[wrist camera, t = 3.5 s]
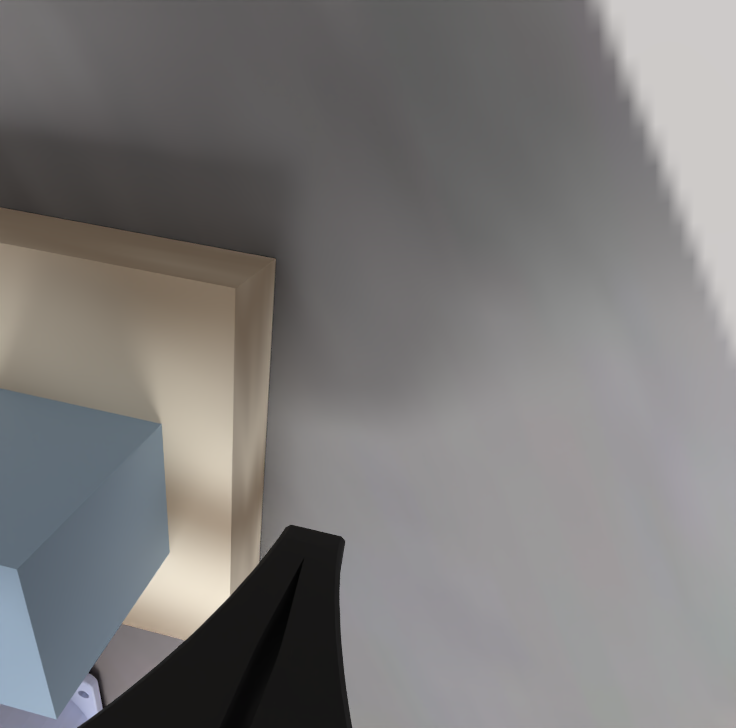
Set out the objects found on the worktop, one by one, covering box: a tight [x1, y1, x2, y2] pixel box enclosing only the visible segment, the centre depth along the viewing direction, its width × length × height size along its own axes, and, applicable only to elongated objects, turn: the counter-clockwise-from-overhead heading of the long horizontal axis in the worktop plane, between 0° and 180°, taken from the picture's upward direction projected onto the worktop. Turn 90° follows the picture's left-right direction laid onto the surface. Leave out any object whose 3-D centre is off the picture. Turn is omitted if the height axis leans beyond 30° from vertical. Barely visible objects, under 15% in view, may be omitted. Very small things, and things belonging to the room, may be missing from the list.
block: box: [0, 388, 170, 720], centre depth 11 cm, size 4×4×4 cm
